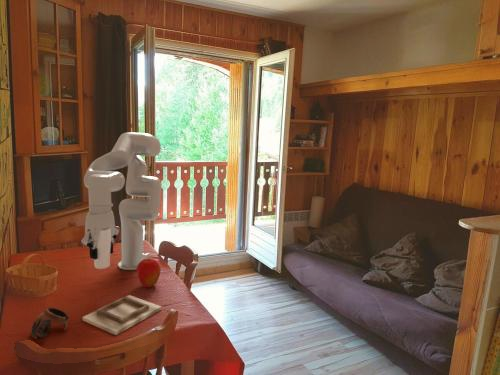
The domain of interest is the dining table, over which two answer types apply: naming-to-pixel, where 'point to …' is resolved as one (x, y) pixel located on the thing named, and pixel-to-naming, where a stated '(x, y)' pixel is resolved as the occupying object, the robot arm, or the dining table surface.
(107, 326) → the locating board
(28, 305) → the dining table surface
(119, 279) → the dining table surface
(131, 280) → the dining table surface
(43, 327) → the pottery mug
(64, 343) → the dining table surface
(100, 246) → the drinking glass
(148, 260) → the apple
